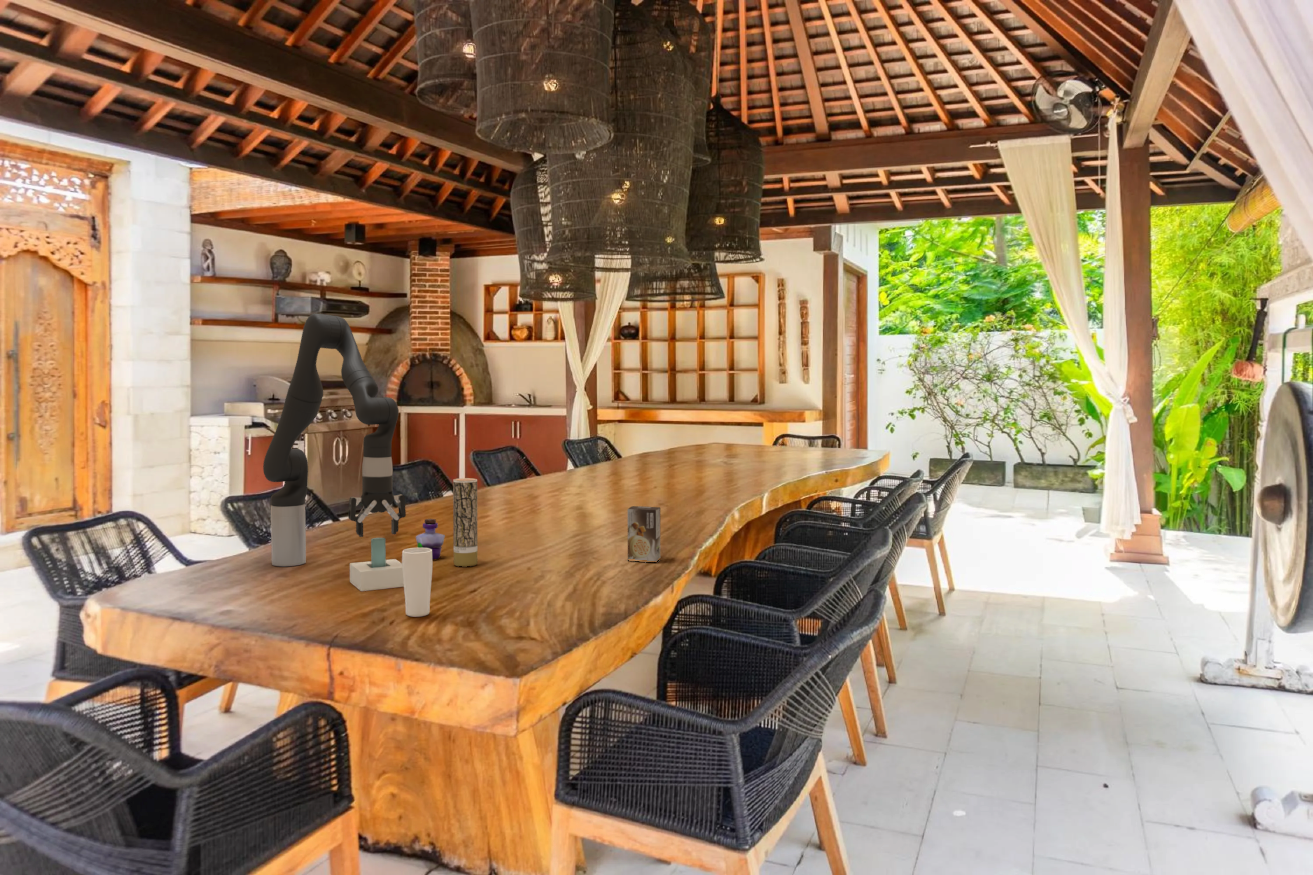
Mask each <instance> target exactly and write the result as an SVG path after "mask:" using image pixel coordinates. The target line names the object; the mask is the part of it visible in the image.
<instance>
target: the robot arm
mask: <svg viewBox="0 0 1313 875" xmlns="http://www.w3.org/2000/svg"><path fill="white" fill-rule="evenodd" d="M302 329H303V330H302V333H301V338H300V343H299V349H298V354H297V358H296V363H295V365H294V366H295V367H294V370H293V374H292V377H291V381H290V383H289V386H288V389H287V393H286V396H285V399H284V403H283V407H282V410H281V414H280V417H279V420H278V423H277V426H276V430H275V432H274V434H273V437H272V438H271V441H270V442H269V443H270V444H269V446H268V448H267V450H266V453H265V455H264V460H263V467H262V471H263V475H264V477H265V478H266V480H268V481H269V482H271V483H284V485H283V486H282V488H280V489H279V490H278V491H277V492H275V493H273V494H272V495H271V497H270V528H271V529H270V534H271V536H270V537H271V538H270V539H271V540H270V541H271V542H270V543H271V544H270V546H271V565H272V566H275V567H293V566H295V567H296V566H299V565H300V566H301V565H304V564H306V562H307V548H306V547H307V544H306V543H307V541H306V540H307V539H306V538H307V537H306V531H307V530H306V497H307V495H308V483H309V482H308V481H309V478H308V477H309V462H308V457H307V455H306V454H305V452H304V451H303V450H302V449H300V448H293V446H294V444H295V442H296V441H297V439H298V438H299V437H300V435H302V434H303V433H304V431H306V429H307V428H308V427H309V426H310V424H312V422H313V421H315V419H316V417H317V416H318V414H319V410H320V407H321V404H322V401H323V398H324V387H323V384H322V381H321V378H320V375H319V373H318V368H317V360H318V357H319V356H318V355H319V352H320V350H321V349H330V350H336V351H337V352H338V353H339V354H340V355H341V357H342V358H343V359H342V360H343V361H342V364H341V368H340V369H341V370H340V372H341V373H340V374H341V379H342V381H343V383H344V385H345V387H346V388H347V390H348V392H349V394H350V395H351V397H352V401H353V406H354V411H355V416H356V418H357V419H358V421H360V423H362V424H364V425H367V426H368V425H369V426H370V425H371V426H373V425H374V426H375V425H378V426H377V429H376V430H375V431H374V432H372V433H369V434H366V435H365V436H363V446H362V447H363V449H362V451H363V453H362V455H363V458H362V466H361V468H362V469H361V470H362V471H361V472H362V473H361V474H362V476H361V477H362V478H361V479H362V482H361V484H362V486H361V487H362V491H361V492H362V494H361V497H355V496H350V497H349V500H348V501H349V502H348V519H349V520H350V521H352V522H355V533H356V535H358V537H360V538H363V537H364V523H363V521H364V520H365V518H366V517H368V515H369V514H371V513H372V514H376V513H385V512H387V514H389V516H390V518H391V524H390V525H391V526H390V529H391V530H390V531H391V532H390V533H391V534H392V535H397V533H398V532H399V520H400V519H402V518H405V517H406V515H407V514H406V513H407V510H406V497H405V495H403V494H401V493H398V494H397V495H394V494H393V472H394V470H393V459H392V442H393V438H394V434H395V430H396V425H397V422H398V419H399V407H398V404H397V402H396V401H395V400H394V398H392V397H376V396H377V395H378V393H379V387H378V384H377V382H376V380H375V379H374V377H373V376H372V374H371V373H370V371H369V369H368V368H367V366H366V364H365V362H364V360H363V357H362V355H361V353H360V350H359V347H358V344H357V341H356V339H355V337H354V334H353V331H352V329H351V327H350V325H349V323H348V321H347V320H346V319H345V318H343V317H341V316H338V315H330V314H325V313H324V314H323V313H312V314H310V315H309V316H308V317H307V318H306V320H305V322H304V324H303V328H302ZM394 501H395V502H396V504H397V506H398V508H397V509H398V513H396V512H395V511H396V510H394V508H392V506H391V505H392V504H393V502H394ZM360 502H361V504H362V505H363V507H362V508H361V510H360V511H359V513H358V514H357V515H356V512H357V506H358V505H359V504H360Z"/></svg>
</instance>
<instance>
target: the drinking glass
mask: <svg viewBox="0 0 1313 875" xmlns="http://www.w3.org/2000/svg"><path fill="white" fill-rule="evenodd" d="M401 553H402V554H401V563H402V573H403V583H404V587H403V593H404V600H405V601H404V604H405V615H406V616H408V617H414V618H420V617H425V616H428V615H429V614H430V611H431V610H430V606H431V604H430V603H431V589H432V578H433V560H432V549H429V548H418V547H410V548H404V549H403V550H402V552H401Z"/></svg>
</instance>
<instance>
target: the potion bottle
mask: <svg viewBox="0 0 1313 875" xmlns="http://www.w3.org/2000/svg"><path fill="white" fill-rule="evenodd" d="M422 528H423V529H424V530H425V532H423V533H419V534H417V535H416V536H415V539H416V544H417V546H416V548H429V549H432V561H434V560H433V559H438V558H439V559H440V558H441V552H442V549H443V548H442V546H443V545H444V540H445V537H446V536H445V534H443V533H438V532H436V529H438V528H439V524H438V522H437V520H436V519H435V518H425V519H424V522H423V523H422ZM439 559H438V560H439Z"/></svg>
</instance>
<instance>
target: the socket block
mask: <svg viewBox="0 0 1313 875" xmlns="http://www.w3.org/2000/svg"><path fill="white" fill-rule="evenodd" d="M349 583H351V585H353V586H354V587H355V588H357V589H358V590H359V591H360V592H365V591H366V592H368V591H374V590H376V591H377V590H385V589H393V588H404V583H403V573H402V561H401V562H400V561H399V560H397V559H396V558H391V559H386V567H376V568H371V561H369V560H368V561H360V562H350V563H349Z"/></svg>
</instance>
